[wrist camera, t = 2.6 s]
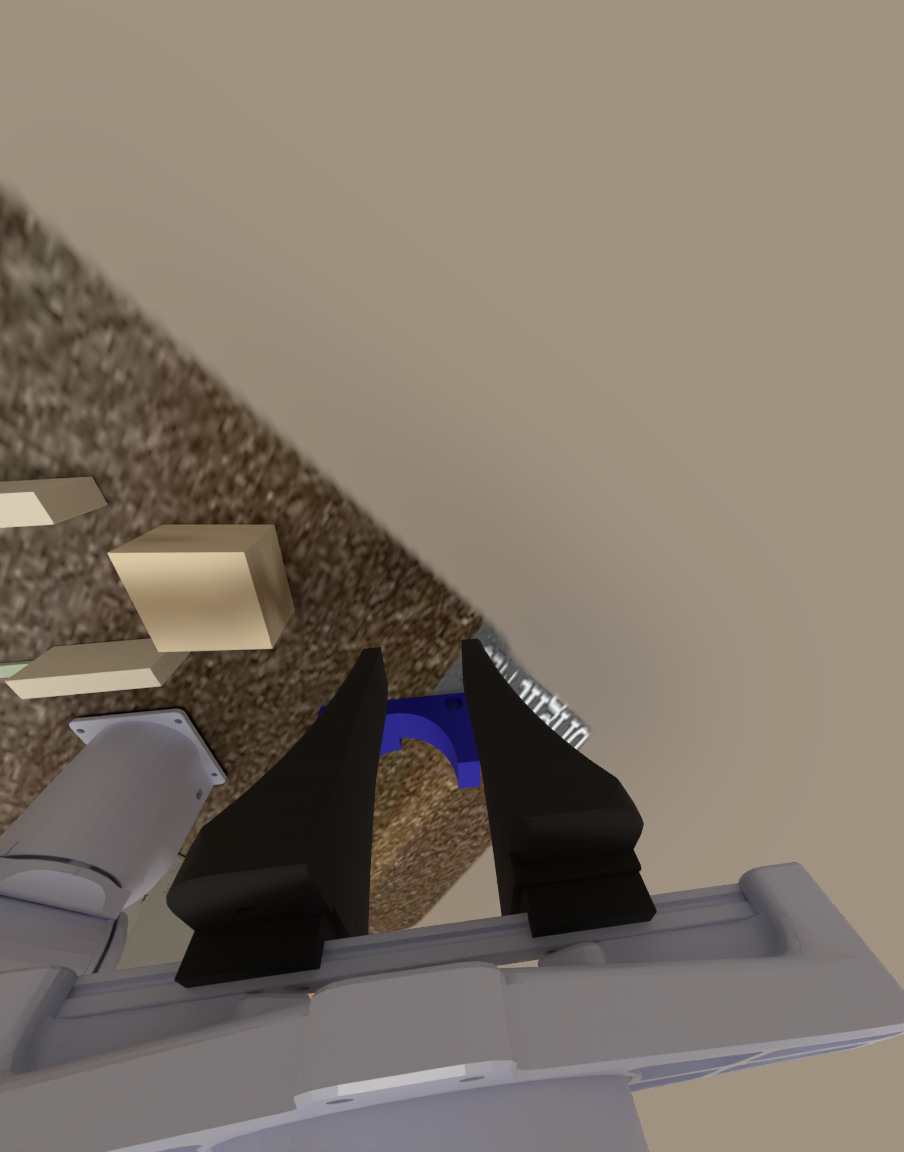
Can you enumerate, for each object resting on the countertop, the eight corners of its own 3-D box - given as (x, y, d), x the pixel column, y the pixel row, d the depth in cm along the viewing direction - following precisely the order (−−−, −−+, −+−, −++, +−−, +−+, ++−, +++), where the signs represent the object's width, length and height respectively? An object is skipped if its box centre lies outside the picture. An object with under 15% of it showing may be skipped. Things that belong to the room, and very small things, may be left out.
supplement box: (175, 850, 35) (64, 1060, 24) (224, 875, 39) (147, 1068, 28) (118, 869, 36) (-15, 1080, 25) (171, 892, 39) (76, 1085, 28)
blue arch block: (333, 740, 29) (314, 817, 24) (321, 705, 27) (297, 781, 22) (469, 726, 30) (479, 797, 24) (467, 691, 27) (479, 760, 22)
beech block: (295, 608, 22) (272, 648, 19) (200, 610, 22) (158, 652, 18) (275, 523, 19) (244, 552, 16) (165, 523, 19) (107, 552, 15)
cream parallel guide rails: (190, 652, 23) (161, 686, 20) (68, 663, 22) (21, 699, 20) (92, 476, 17) (33, 491, 14) (-77, 485, 17) (-170, 503, 14)
